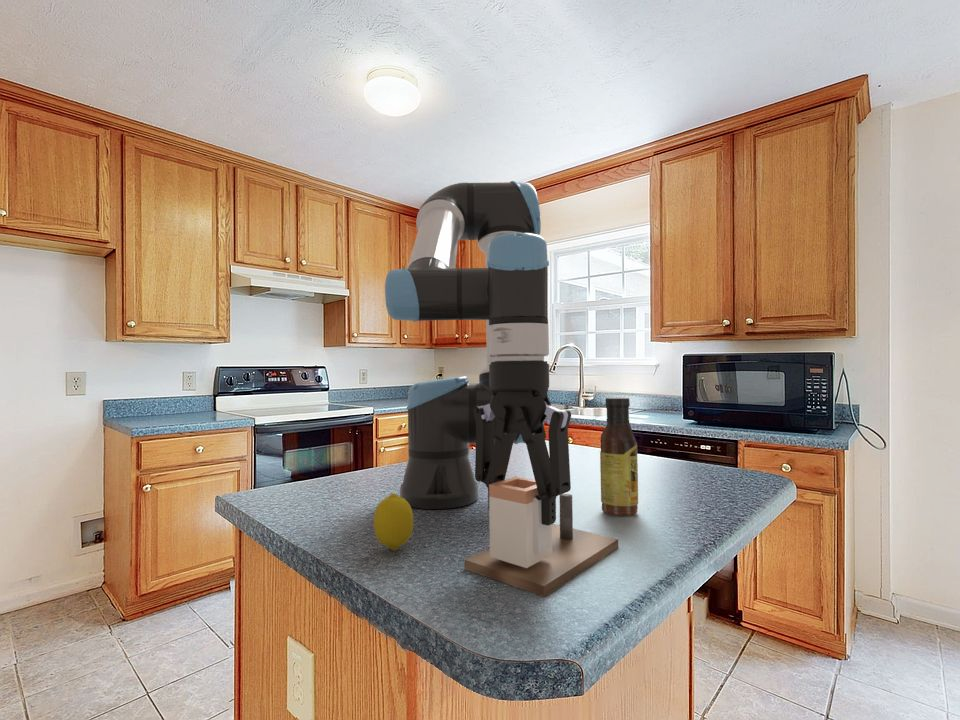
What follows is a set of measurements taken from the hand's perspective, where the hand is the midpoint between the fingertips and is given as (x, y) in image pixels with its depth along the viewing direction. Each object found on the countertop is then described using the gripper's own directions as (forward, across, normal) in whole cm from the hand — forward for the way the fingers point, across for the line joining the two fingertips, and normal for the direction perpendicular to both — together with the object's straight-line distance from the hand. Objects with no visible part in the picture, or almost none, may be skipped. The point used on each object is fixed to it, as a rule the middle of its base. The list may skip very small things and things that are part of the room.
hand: (521, 543), depth 63 cm
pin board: (+3, 0, +6) cm, 7 cm away
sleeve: (+1, 0, 0) cm, 1 cm away
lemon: (+4, -18, -5) cm, 19 cm away
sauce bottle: (+4, -1, +31) cm, 31 cm away
